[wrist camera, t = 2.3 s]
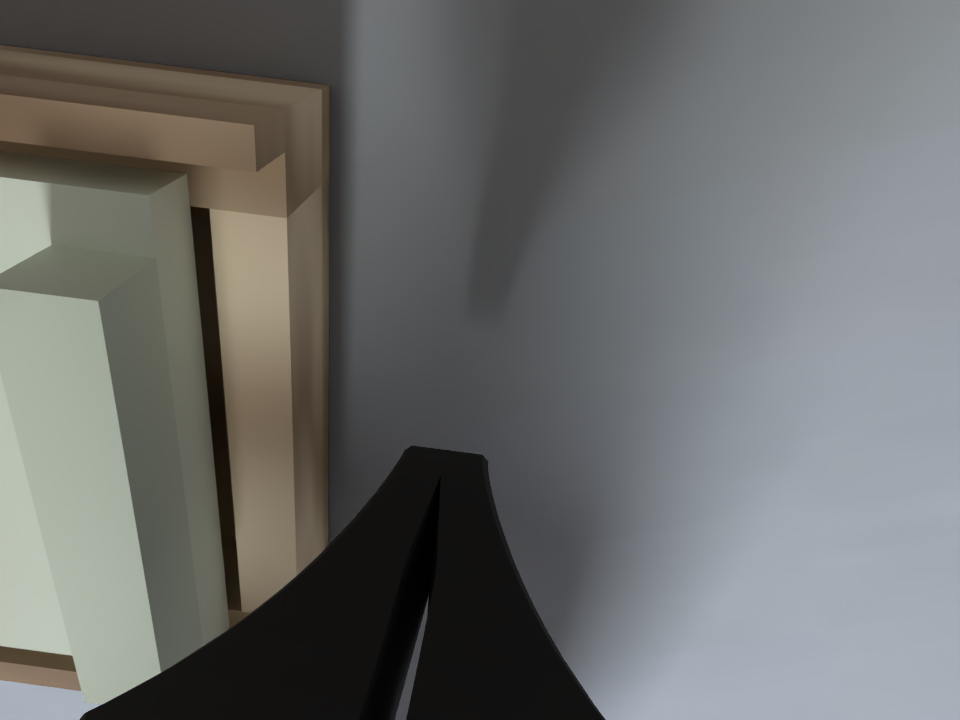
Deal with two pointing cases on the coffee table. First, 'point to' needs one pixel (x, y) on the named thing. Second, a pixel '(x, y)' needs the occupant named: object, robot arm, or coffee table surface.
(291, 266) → the box
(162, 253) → the cover plate
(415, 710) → the robot arm
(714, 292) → the coffee table surface
